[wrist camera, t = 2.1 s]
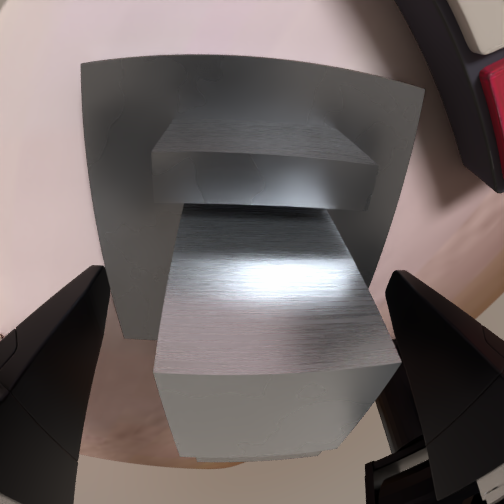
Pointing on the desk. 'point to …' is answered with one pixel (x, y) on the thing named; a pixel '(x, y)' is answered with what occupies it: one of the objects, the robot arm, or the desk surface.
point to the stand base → (235, 156)
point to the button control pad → (467, 74)
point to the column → (266, 335)
